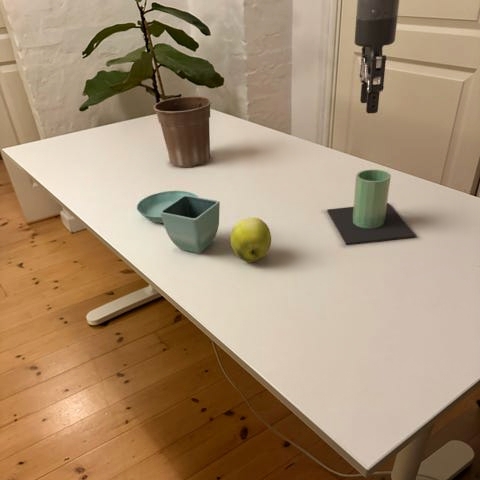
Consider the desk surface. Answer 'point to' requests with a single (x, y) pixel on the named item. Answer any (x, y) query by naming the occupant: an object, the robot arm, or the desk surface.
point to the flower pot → (192, 222)
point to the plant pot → (185, 129)
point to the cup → (371, 198)
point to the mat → (356, 235)
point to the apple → (251, 239)
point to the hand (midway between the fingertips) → (368, 107)
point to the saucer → (159, 203)
